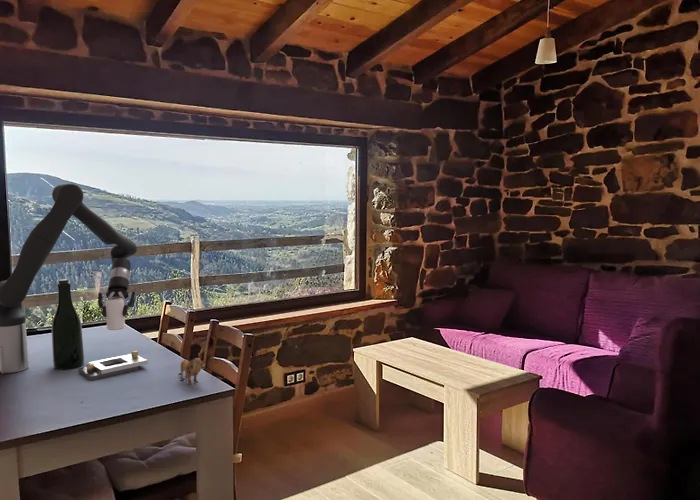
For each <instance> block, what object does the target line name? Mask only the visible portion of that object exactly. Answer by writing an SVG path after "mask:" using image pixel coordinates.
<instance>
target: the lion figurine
mask: <svg viewBox="0 0 700 500" xmlns="http://www.w3.org/2000/svg"><path fill="white" fill-rule="evenodd" d="M205 366H206V362H205V363H204V362H203V361H202V360H201V358H199V357H195V358H193V359H191V360H188V359H183V360H182V361H181V363H180V373H178V376H180V381H184V380H185V379H184V376H185V377H187V385H188V386H191V385H192V380H191V377H193V383H195V384H196V383H198V382H199V381H198V380H197V377H198V375H199V373H200V372H201V371H202V370H204V369H205Z"/></svg>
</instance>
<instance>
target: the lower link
mask: <svg viewBox="0 0 700 500" xmlns="http://www.w3.org/2000/svg"><path fill="white" fill-rule="evenodd" d="M117 364H122V362H116V363H112V364H107V365H104V366H105V367H108V366H113V365H117ZM136 371H139V366H136V367H132V368H127V369H123V370H118V371H113V372H109V373H104V374H100V373H99V372H97V371H96V370H94V363H89V362H88V363H87V364H86V366H85V367H78V373H79V374H80V375H82V376H83V377H85V378H87V379H88V380H89V381H96V380H101V379H104V378H108V377H109V378H110V377H113V376H117V375H123V374H126V373H132V372H136Z"/></svg>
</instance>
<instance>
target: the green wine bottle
mask: <svg viewBox="0 0 700 500" xmlns="http://www.w3.org/2000/svg"><path fill="white" fill-rule="evenodd" d="M71 287H72V286H71V282H70V280H69V279H64V278H63V279H59V280H58V283H57V293H58V294H57V297H58V298H57V307H56V310H55V313H54V315H53V319H52V322H51V342H52V343H51V344H52V345H51V346H52V348H51V349H52V363H53V367H54V368H55V369H56V370H70V369H71V370H72V369H75V368H80V367H81V366H82V365H84V364H85V354H84V352H85V349H84V341H83V340H84V338H83V327H82V322H81V319H80V317H79V314H78V311H77V310H76V309H75V305H74V302H73V297H72V290H71V289H72V288H71Z"/></svg>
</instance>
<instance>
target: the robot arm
mask: <svg viewBox="0 0 700 500" xmlns="http://www.w3.org/2000/svg"><path fill="white" fill-rule="evenodd" d="M51 197H52V199H53V201H54V204H53V205H52V207H51V209H50V210H49V211H48V213H47V214H46V216H44V217H43V218H42V219H41V220H40V221H39V222H38V223H37V224H36V225H35V227H33V228H32V230H31V232H30V233H29V235H28V237H27V238H26V240H25V241H24V243H23V245H22V248H21V249H20V253H19V257H18V260H17V262H16V263H17V264H16V266H15V268H14V269H13V271H12V273H11V274H10V276H9V277H8V278H7V279H6V280H2V281H0V373H1V374H2V375H3V374H12V373H17V372H22V371H25V370H27V369H29V368H30V366H29V365H30V364H29V363H30V361H29V351H28V350H29V349H28V339H27V338H28V337H27V325H26V324H27V323H26V322H27V321H26V315H25V312H24V311H23V306H22V303H23V302H24V301H25V299H26V298H27V296H28V295H27V294H28V292H29V290H30V288H31V286H32V284H33V282H34V279H35V278H36V275H37V274H38V273H39V271H40V270H41V268H42V266H43V264H44V263H45V262H46V261H47V258H48V257H49V256H50V254H51V252H52V251H53V249H54V247H55V246H56V243H57V241H58V240H59V238H60V236H61V235H62V233H63V231H64V229H65V227H66V225H67V224H68V222H69V220H70V219H71V218H72V216H73V217H75V218H76V219H77V220H78V221H80V222H81V223H82V224H83V225H84V226H85V227H86V228H87V229H89V230H90V231H91V232H92V233H93V234H94V235H95V236H96V237H97V238H98V239H99V240H100V241H101V242H102V243H103V244H104V245H106V246H107V245H109V246H110V245H113V246H112V247H111V249H110V252H109V254H110V258H111V263H112V265H111V272H110V275H109V280H108V286H107V291H106V293H102V292H99V293H98V295H97V296H98V297H97V298H98V299H97V305H98V307H99V309H100V310H101V314H102V317H103V318H106V301H107V298H110V297H122V299H123V301H124V308H123V317H124V316H125V317H126V316H127V315H128V313H129V312H128V311H129V308H134V306H135V302H136V298H137V295H136V294H137V293H136V291H132V292H129V289H130V281H131V280H130V279H131V266H132V265H131V261H130V260H129V259H128V258H130V257H132V256H134V255H135V254H136V253H137V252H138V247H137V244H136V243H135V242H134V240H132V239H131V238H129V237H127V236H126V235H124V234H123V233H121V232H119V231H117V230H116V229H115V227H113V226H112V225H111V224H110V223H109V222H108V221H107V220H106V219H104V218H103V217H102V216H100V215H99V214H97V213H96V212H95V211H93V210H92V209H91V208H89V207H88V206H87V204H85V203H84V202H83V200H84V191H83V189H82V188H81V186H79V185H78V184H76V183H75V184H74V183H62V184H58V185H57V186H55V187H54V188H53V190H52V192H51ZM105 298H106V300H105ZM127 298H130V299H129V302H127V300H126V299H127ZM104 300H105V302H104Z"/></svg>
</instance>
